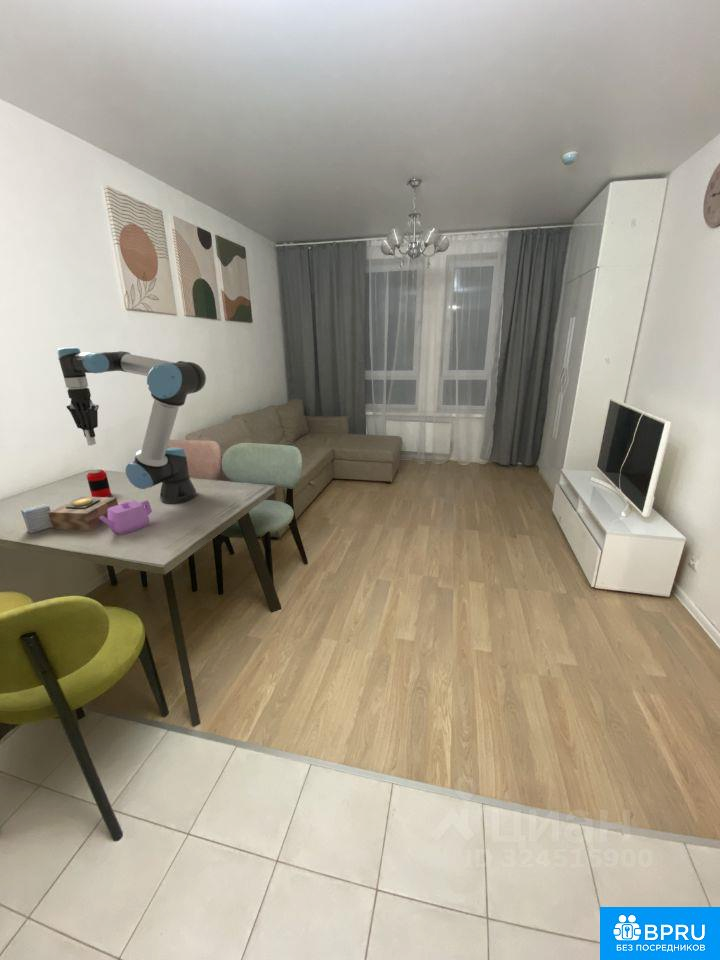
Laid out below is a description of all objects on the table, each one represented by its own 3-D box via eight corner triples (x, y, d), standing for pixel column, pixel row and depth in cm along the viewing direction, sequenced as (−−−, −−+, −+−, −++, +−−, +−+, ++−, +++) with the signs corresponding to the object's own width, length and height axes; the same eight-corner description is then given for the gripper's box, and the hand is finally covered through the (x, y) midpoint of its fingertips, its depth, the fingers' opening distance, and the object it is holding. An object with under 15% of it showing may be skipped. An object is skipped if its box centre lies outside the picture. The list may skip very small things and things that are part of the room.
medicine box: (52, 523, 158) (45, 503, 155) (55, 526, 155) (49, 505, 152) (27, 530, 152) (20, 509, 149) (30, 533, 149) (23, 512, 146)
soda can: (109, 497, 184) (103, 472, 180) (90, 500, 181) (83, 474, 177) (112, 492, 190) (106, 468, 186) (94, 494, 188) (87, 470, 184)
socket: (120, 513, 166) (116, 496, 163) (90, 530, 151) (85, 512, 148) (85, 512, 168) (80, 495, 165) (53, 528, 153) (47, 510, 150)
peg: (100, 517, 162) (95, 498, 159) (88, 524, 156) (83, 504, 153) (86, 517, 162) (81, 498, 160) (75, 523, 157) (69, 504, 154)
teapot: (110, 540, 143) (103, 514, 140) (98, 532, 149) (91, 507, 146) (159, 522, 157) (154, 498, 153) (146, 516, 163) (141, 492, 159)
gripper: (99, 386, 164) (112, 442, 172) (71, 387, 166) (85, 442, 174) (85, 388, 157) (99, 447, 165) (55, 389, 159) (71, 446, 167)
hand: (92, 444), depth 169 cm, fingers closed
